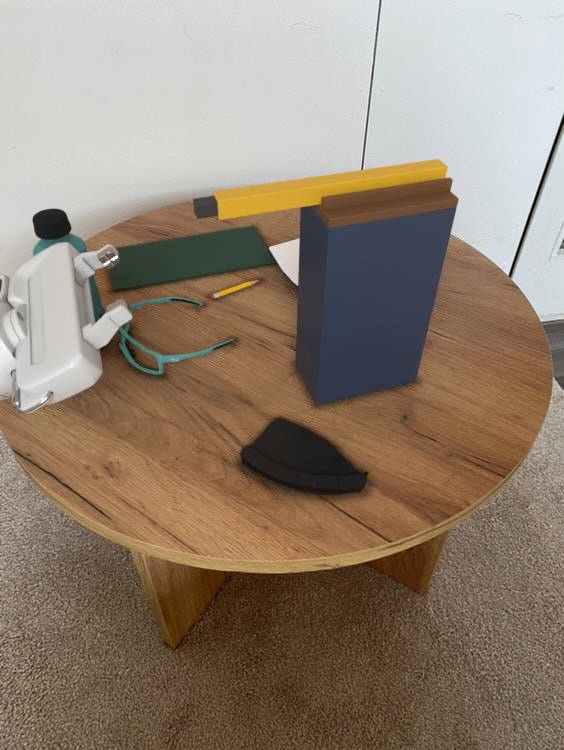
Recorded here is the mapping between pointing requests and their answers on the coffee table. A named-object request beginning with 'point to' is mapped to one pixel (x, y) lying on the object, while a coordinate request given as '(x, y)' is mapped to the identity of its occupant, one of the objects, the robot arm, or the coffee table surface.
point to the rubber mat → (188, 258)
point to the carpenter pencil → (311, 189)
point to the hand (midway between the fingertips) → (121, 278)
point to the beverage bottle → (57, 229)
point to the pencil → (233, 289)
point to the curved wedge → (300, 461)
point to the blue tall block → (369, 286)
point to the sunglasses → (160, 358)
